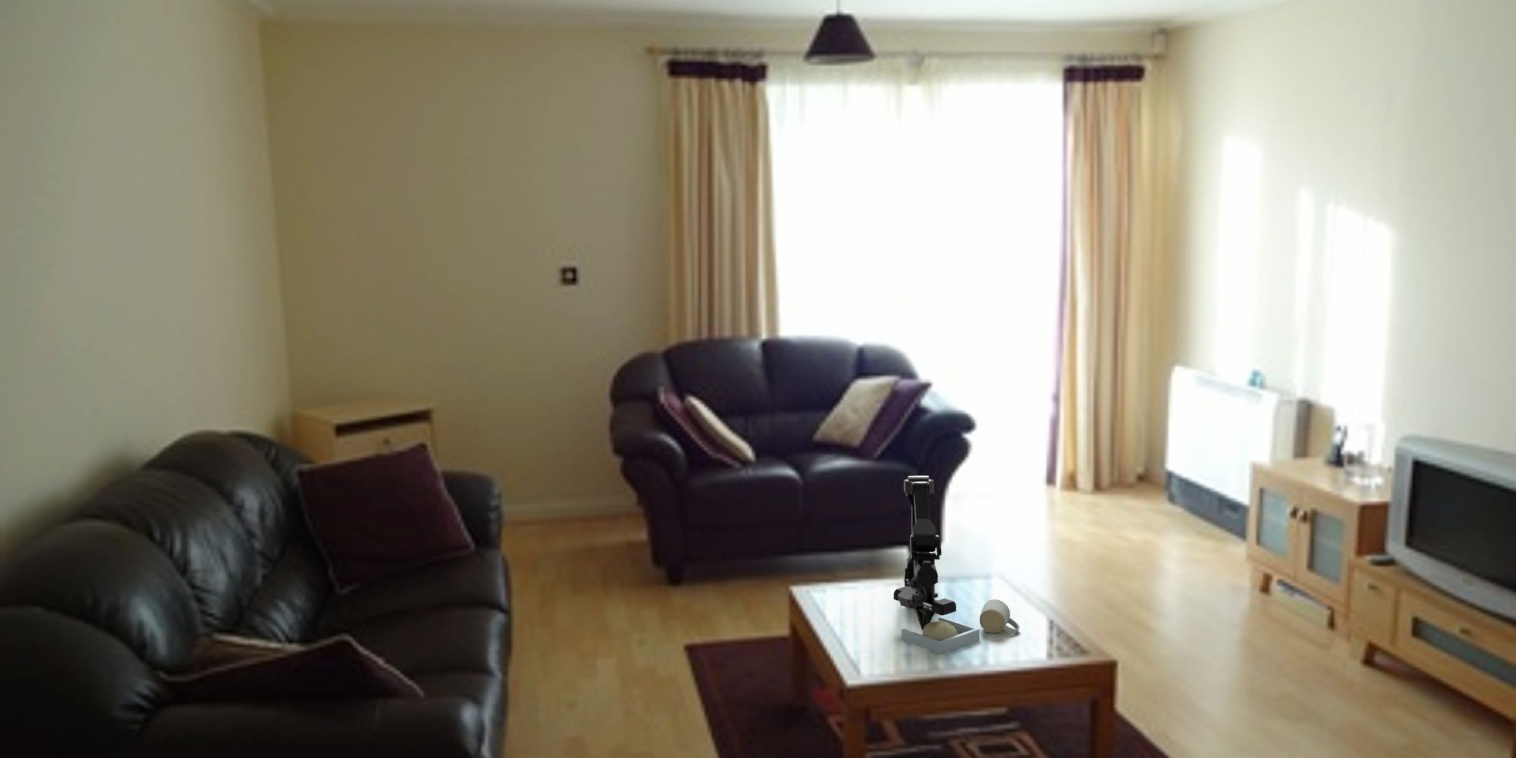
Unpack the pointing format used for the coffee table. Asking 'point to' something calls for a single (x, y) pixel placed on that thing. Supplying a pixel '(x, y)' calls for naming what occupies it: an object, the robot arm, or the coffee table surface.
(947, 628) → the sea urchin shell
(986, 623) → the ceramic mug
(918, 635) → the corral
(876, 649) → the coffee table surface
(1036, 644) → the coffee table surface
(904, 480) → the robot arm
